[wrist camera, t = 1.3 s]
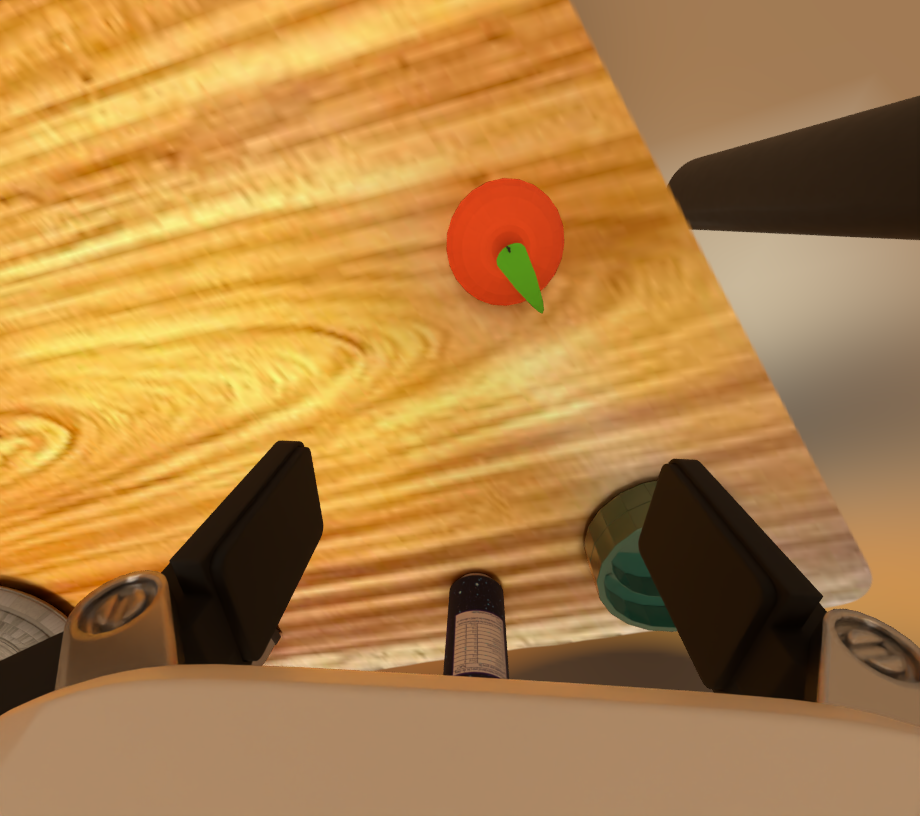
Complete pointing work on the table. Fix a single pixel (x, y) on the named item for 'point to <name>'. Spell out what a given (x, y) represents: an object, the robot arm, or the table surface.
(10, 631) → the flying saucer
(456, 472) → the table surface
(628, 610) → the bowl
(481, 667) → the beverage can
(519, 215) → the clementine
